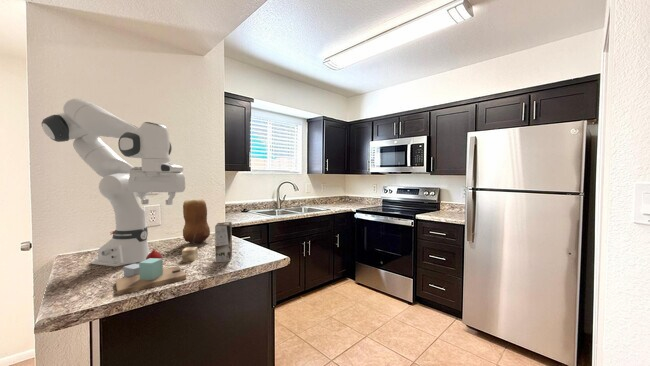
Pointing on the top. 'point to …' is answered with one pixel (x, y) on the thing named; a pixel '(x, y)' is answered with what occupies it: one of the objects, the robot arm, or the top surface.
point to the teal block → (150, 269)
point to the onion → (154, 255)
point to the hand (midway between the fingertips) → (157, 204)
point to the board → (137, 284)
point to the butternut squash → (195, 221)
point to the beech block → (189, 254)
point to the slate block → (131, 270)
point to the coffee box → (223, 242)
